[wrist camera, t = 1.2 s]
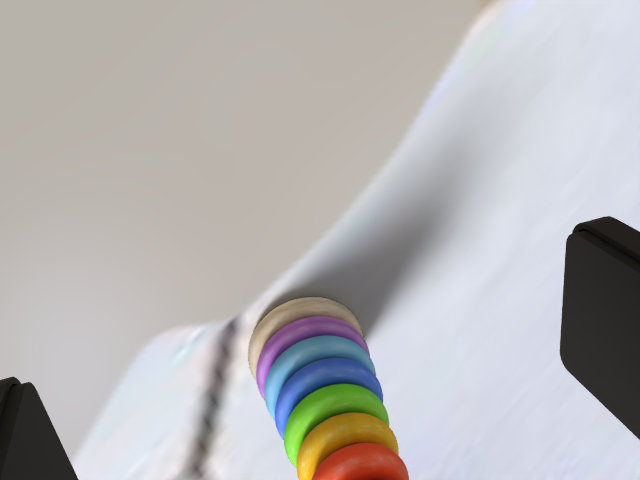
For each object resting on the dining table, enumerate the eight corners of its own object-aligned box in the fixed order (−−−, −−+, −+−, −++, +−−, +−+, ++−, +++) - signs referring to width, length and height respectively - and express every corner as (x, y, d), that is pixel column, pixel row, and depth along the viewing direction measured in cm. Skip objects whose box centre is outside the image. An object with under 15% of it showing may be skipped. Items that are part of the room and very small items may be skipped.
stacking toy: (331, 270, 39) (470, 494, 23) (373, 353, 43) (518, 595, 26) (224, 328, 39) (288, 597, 22) (277, 407, 42) (364, 685, 26)
